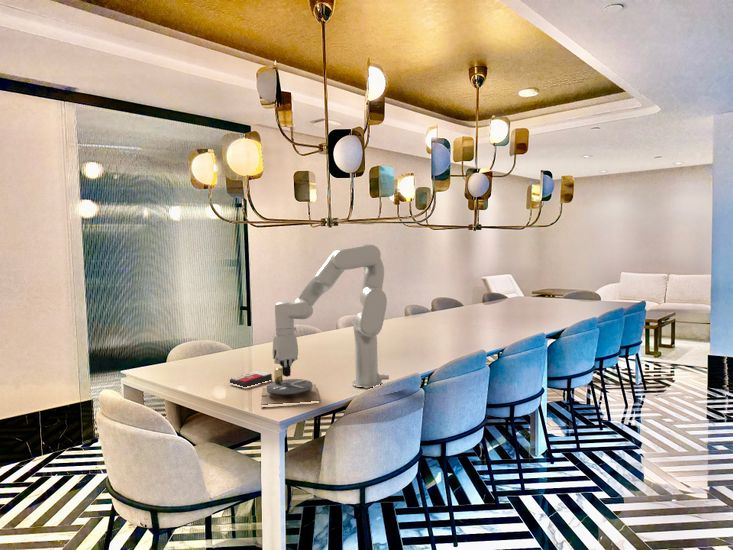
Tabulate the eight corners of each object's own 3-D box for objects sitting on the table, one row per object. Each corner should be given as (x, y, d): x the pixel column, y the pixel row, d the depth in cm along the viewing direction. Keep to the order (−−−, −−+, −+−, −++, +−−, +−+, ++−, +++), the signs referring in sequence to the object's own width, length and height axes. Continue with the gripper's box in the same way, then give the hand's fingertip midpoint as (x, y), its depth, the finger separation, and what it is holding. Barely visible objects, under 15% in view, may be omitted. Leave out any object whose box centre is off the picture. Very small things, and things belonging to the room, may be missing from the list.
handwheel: (321, 391, 203) (321, 370, 202) (286, 402, 190) (285, 379, 189) (292, 384, 215) (292, 363, 214) (257, 394, 202) (256, 372, 201)
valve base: (315, 387, 215) (315, 383, 215) (320, 403, 193) (319, 398, 193) (262, 391, 211) (262, 387, 211) (261, 408, 190) (260, 403, 190)
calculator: (229, 377, 222) (256, 369, 234) (229, 387, 223) (257, 378, 234) (244, 381, 215) (271, 372, 227) (245, 391, 216) (272, 381, 227)
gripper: (295, 328, 216) (296, 370, 217) (264, 333, 206) (266, 377, 207) (305, 330, 211) (306, 373, 212) (274, 335, 200) (276, 381, 202)
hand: (286, 375), depth 209 cm, fingers closed
